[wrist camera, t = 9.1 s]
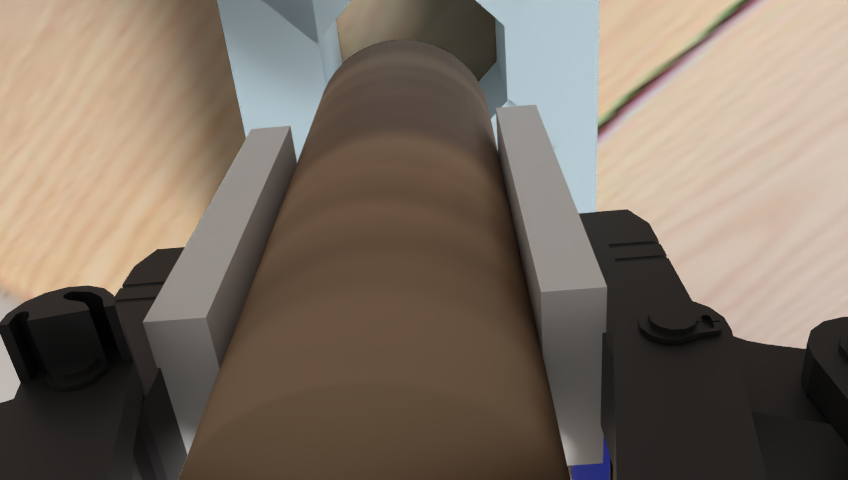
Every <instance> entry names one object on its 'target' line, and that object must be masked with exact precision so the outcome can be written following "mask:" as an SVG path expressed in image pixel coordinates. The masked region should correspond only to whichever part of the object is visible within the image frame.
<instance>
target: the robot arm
mask: <svg viewBox="0 0 848 480" xmlns="http://www.w3.org/2000/svg"><path fill="white" fill-rule="evenodd" d="M496 122H497V143H498V156H499V160H500V165H501V169H502V174H503V178H504V183H505V188H506V192H507V197H508V201H509V206H510V210H511V215H512V219H513V224H514V229H515V233H516V238H517V242H518V247H519V251H520V256H521V261H522V265H523V270H524V274H525V279H526V283H527V288H528V292H529V297H530V302H531V306H532V311H533V315H534V320H535V324H536V329H537V333H538V338H539V343H540V347H541V352H542V356H543V360H544V364H545V367H546V372H547V376H548V381H549V385H550V390H551V394H552V399H553V403H554V408H555V412H556V417H557V421H558V426H559V431H560V435H561V440H562V444H563V449H564V453H565V458H566V462H567V466H570V465H585V464H600V463H603V441H604V438H605V441H606V445H607V448H608V452H609V455H610V480H848V317H841V318H837V319H832V320H828V321H824V322H822V323H821V324H819V325H818V326H817V327H815V328H814V329H812V330H811V332H810V336H809V339H808V342H807V348H806V349H799V348H791V347H783V346H775V345H767V344H761V343H756V342H751V341H746V340H743V339H740V338H737V337H734V336H733V334H732V330H731V328H730V327H729V325H728V323H727V322H726V320H725V318H724V317H723V316H721V315H720V314H718V313H717V312H715V311H714V310H713V309H711V308H710V307H707V306H705V305H702V304H699V303H696V302H693V301H692V300H691V298H690V296H689V294H688V293H687V291H686V289H685V287H684V285H683V284H682V282H681V280H680V278H679V276H678V275H677V273H676V271H675V269H674V268H673V266H672V264H671V262H670V260H669V259H668V258H667V257H666V253H665V251H664V250H663V248H662V246H661V244H659V241H658V239H657V237H656V235H655V233H654V232H653V230H652V228H651V226H650V224H649V223H648V222H646V221H645V220H643V219H641V218H640V217H638V216H637V215H635V214H634V213H632V212H631V211H629V210H615V211H602V212H590V213H578V211H577V209H576V206H575V203H574V201H573V198H572V196H571V193H570V191H569V188H568V185H567V183H566V180H565V178H564V175H563V173H562V170H561V168H560V165H559V162H558V160H557V157H556V155H555V152H554V150H553V147H552V145H551V142H550V139H549V137H548V134H547V132H546V129H545V127H544V124H543V121H542V119H541V116H540V114H539V111H538V109H537V106H536V105H524V106H512V107H501V108H496ZM296 165H297V159H296V154H295V148H294V143H293V137H292V132H291V126H281V127H269V128H258V129H251V131H250V132H249V134H248V136H247V138H246V140H245V141H244V143H243V145H242V147H241V148H240V150H239V152H238V154H237V156H236V157H235V159H234V161H233V163H232V164H231V166H230V168H229V170H228V172H227V173H226V175H225V177H224V179H223V180H222V182H221V184H220V186H219V188H218V189H217V191H216V193H215V195H214V196H213V198H212V200H211V202H210V204H209V205H208V207H207V209H206V211H205V212H204V214H203V216H202V218H201V220H200V221H199V223H198V225H197V227H196V228H195V230H194V232H193V234H192V236H191V237H190V239H189V241H188V243H187V244H186V246H185V247H182V248H169V249H157V250H156V251H155V252H153V253H152V254H151V255H149V256H148V257H147V258H145V259H144V260H142V261H141V262H140V263H138V264H137V265H136V266H134V268H133V269H132V271H131V272H130V274H129V276H128V277H127V279H126V280H125V282H124V283H123V288H120V289H119V291H118V292H117V294H116V295H115V297H114V295H113V294H111V293H110V292H108V291H107V290H106V289H104V288H99V287H93V286H77V287H67V288H63V289H59V290H55V291H51V292H47V293H44V294H42V295H40V296H38V297H35V298H33V299H31V300H28V301H26V302H24V303H23V304H21V305H20V306H18V307H17V308H15V309H14V310H12V311H11V312H9V313H8V314H7V315H6V316H5V317H4V318H3V319H2V321H1V322H0V334H1V337H2V339H3V342H4V344H5V346H6V349H7V351H8V354H9V356H10V358H11V360H12V363H13V365H14V368H15V370H16V373H17V375H18V377H19V380H20V382H21V383H20V386H19V388H18V390H17V393H16V395H15V398H14V399H12V400H9V401H6V402H3V403H0V480H178V479H179V476H180V473H181V471H182V468H183V465H184V463H185V460H186V458H187V456H188V453H189V450H190V448H191V445H192V442H193V439H194V437H195V434H196V431H197V429H198V426H199V423H200V421H201V418H202V415H203V413H204V410H205V407H206V405H207V402H208V399H209V397H210V394H211V391H212V389H213V386H214V383H215V381H216V378H217V375H218V373H219V370H220V367H221V365H222V362H223V359H224V357H225V354H226V351H227V349H228V346H229V343H230V341H231V338H232V335H233V333H234V330H235V327H236V325H237V322H238V319H239V317H240V314H241V311H242V309H243V306H244V303H245V301H246V298H247V295H248V293H249V290H250V287H251V285H252V282H253V279H254V277H255V274H256V271H257V269H258V266H259V263H260V261H261V258H262V255H263V253H264V250H265V247H266V245H267V242H268V239H269V237H270V234H271V231H272V229H273V226H274V223H275V221H276V218H277V215H278V213H279V210H280V207H281V205H282V202H283V199H284V197H285V194H286V191H287V189H288V186H289V183H290V181H291V178H292V175H293V173H294V170H295V167H296Z"/></svg>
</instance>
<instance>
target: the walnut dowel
mask: <svg viewBox="0 0 848 480" xmlns="http://www.w3.org/2000/svg"><path fill="white" fill-rule="evenodd" d="M179 480H570V476H569V471H568V467H567V462H566V458H565V453H564V449H563V444H562V440H561V435H560V431H559V426H558V421H557V417H556V412H555V408H554V403H553V399H552V394H551V390H550V385H549V381H548V376H547V372H546V367H545V364H544V360H543V356H542V352H541V347H540V343H539V338H538V333H537V329H536V324H535V320H534V315H533V311H532V306H531V302H530V297H529V292H528V288H527V283H526V279H525V274H524V270H523V265H522V261H521V256H520V251H519V247H518V242H517V238H516V233H515V229H514V224H513V219H512V215H511V210H510V206H509V201H508V197H507V192H506V188H505V183H504V178H503V174H502V169H501V165H500V160H499V156H498V149H497V145H496V140H495V136H494V131H493V127H492V122H491V118H490V113H489V108H488V105H487V101H486V97H485V95H484V92H483V90H482V87H481V86H480V84H479V82H478V80H477V79H476V77H475V76H474V75H473V73H472V72H471V71H470V70H469V68H468V67H467V66H466V65H465V64H464V63H462V62H461V61H460V60H459V59H458V58H456V57H455V56H454V55H452V54H451V53H449V52H447V51H445V50H444V49H442V48H439V47H437V46H434V45H432V44H429V43H425V42H421V41H414V40H392V41H385V42H381V43H378V44H374V45H371V46H369V47H367V48H365V49H362V50H361V51H359V52H357V53H356V54H354V55H352V56H351V57H350V58H349V59H347V60H346V61H345V62H344V63H343V64H342V65H341V66H340V67H339V68H338V69H337V70H336V71H335V73H334V74H333V76H332V77H331V79H330V80H329V82H328V84H327V86H326V88H325V90H324V92H323V95H322V98H321V100H320V103H319V106H318V108H317V111H316V114H315V116H314V119H313V122H312V124H311V127H310V130H309V132H308V135H307V138H306V140H305V143H304V146H303V148H302V151H301V154H300V156H299V159H298V162H297V165H296V167H295V170H294V173H293V175H292V178H291V181H290V183H289V186H288V189H287V191H286V194H285V197H284V199H283V202H282V205H281V207H280V210H279V213H278V215H277V218H276V221H275V223H274V226H273V229H272V231H271V234H270V237H269V239H268V242H267V245H266V247H265V250H264V253H263V255H262V258H261V261H260V263H259V266H258V269H257V271H256V274H255V277H254V279H253V282H252V285H251V287H250V290H249V293H248V295H247V298H246V301H245V303H244V306H243V309H242V311H241V314H240V317H239V319H238V322H237V325H236V327H235V330H234V333H233V335H232V338H231V341H230V343H229V346H228V349H227V351H226V354H225V357H224V359H223V362H222V365H221V367H220V370H219V373H218V375H217V378H216V381H215V383H214V386H213V389H212V391H211V394H210V397H209V399H208V402H207V405H206V407H205V410H204V413H203V415H202V418H201V421H200V423H199V426H198V429H197V431H196V434H195V437H194V439H193V442H192V445H191V448H190V450H189V453H188V456H187V458H186V461H185V464H184V466H183V469H182V472H181V474H180V477H179Z"/></svg>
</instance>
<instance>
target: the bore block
mask: <svg viewBox="0 0 848 480" xmlns="http://www.w3.org/2000/svg"><path fill="white" fill-rule="evenodd" d="M350 1H351V0H217V4H218V8H219V13H220V18H221V23H222V27H223V32H224V37H225V41H226V46H227V51H228V56H229V60H230V65H231V70H232V75H233V79H234V84H235V89H236V93H237V98H238V103H239V108H240V112H241V117H242V122H243V126H244V131H245V136H246V138H247V136H248V134H249V132H250V131H251V129H258V128H269V127H281V126H291V132H292V137H293V143H294V148H295V154H296V159H297V162H298V159H299V156H300V154H301V151H302V148H303V146H304V143H305V140H306V138H307V135H308V132H309V130H310V127H311V124H312V122H313V119H314V116H315V114H316V111H317V108H318V106H319V103H320V100H321V98H322V95H323V92H324V90H325V88H326V86H327V84H328V82H329V80H330V79H331V77H332V76H333V74H334V73H335V71H336V70H337V69H338V68H339V67H340V66H341V65H342V57H341V50H340V43H339V36H338V29H337V22H336V19H337V18H338V17H339V16H340V14H341V13H342V12H343V10H344V9H345V8H346V6H347V5H348V4H349V3H350ZM476 1H477V2H478V3H479V4H480V5H481V6H482V7H484V8H485V9H486V10H487V11H488V12H489V13H490V14H492V15H493V16H494V17H495V30H496V51H497V61H496V63H495V64H494V65H493V66H492V67H491V68H490V69H489V70H488V72H487V73H486V74H485V75H484V76H483V77H482V78H481V79H480V81H479V84H480V86H481V87H482V90H483V92H484V95H485V97H486V101H487V105H488V108H489V113H490V118H491V122H492V127H493V131H494V136H495V140H496V145H497V149H498V143H497V122H496V108H501V107H512V106H524V105H536V106H537V109H538V111H539V114H540V116H541V119H542V121H543V124H544V127H545V129H546V132H547V134H548V137H549V139H550V142H551V145H552V147H553V150H554V152H555V155H556V157H557V160H558V162H559V165H560V168H561V170H562V173H563V175H564V178H565V180H566V183H567V185H568V188H569V191H570V193H571V196H572V198H573V201H574V203H575V206H576V209H577V211H578V213H590V212H596V181H597V119H598V58H599V0H476Z"/></svg>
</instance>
